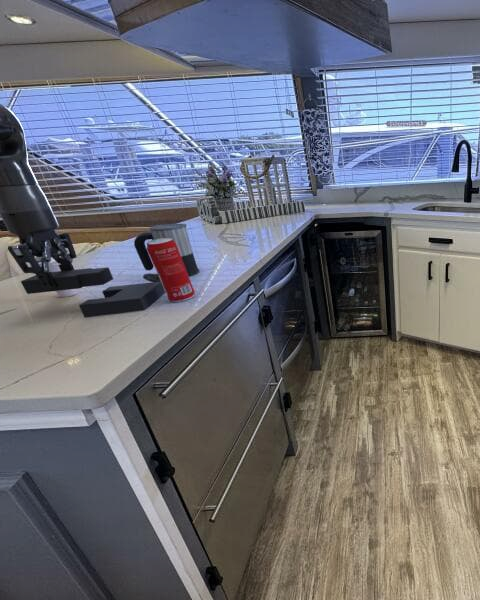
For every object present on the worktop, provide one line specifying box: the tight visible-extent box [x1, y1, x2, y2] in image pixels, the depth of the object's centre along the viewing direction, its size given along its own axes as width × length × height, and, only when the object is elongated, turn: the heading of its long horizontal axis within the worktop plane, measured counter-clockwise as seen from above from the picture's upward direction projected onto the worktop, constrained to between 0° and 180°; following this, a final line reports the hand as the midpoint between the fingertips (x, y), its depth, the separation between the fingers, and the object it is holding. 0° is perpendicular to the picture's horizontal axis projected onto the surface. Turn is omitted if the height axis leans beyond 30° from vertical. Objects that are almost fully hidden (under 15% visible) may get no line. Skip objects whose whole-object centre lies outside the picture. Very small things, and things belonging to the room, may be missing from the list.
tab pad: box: [20, 266, 114, 295], centre depth 74 cm, size 14×6×3 cm, turn 104°
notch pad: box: [78, 281, 166, 318], centre depth 78 cm, size 12×12×3 cm
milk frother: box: [133, 223, 200, 283], centre depth 93 cm, size 14×16×15 cm
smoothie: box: [38, 256, 79, 298], centre depth 83 cm, size 6×6×14 cm
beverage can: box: [146, 238, 196, 303], centre depth 77 cm, size 6×6×15 cm
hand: (62, 283), depth 74 cm, fingers closed on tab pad, 6 cm apart
